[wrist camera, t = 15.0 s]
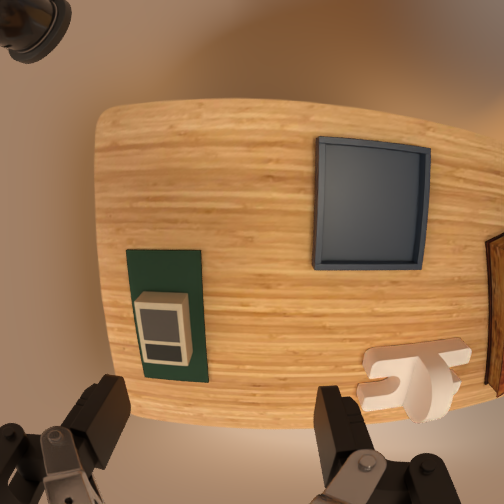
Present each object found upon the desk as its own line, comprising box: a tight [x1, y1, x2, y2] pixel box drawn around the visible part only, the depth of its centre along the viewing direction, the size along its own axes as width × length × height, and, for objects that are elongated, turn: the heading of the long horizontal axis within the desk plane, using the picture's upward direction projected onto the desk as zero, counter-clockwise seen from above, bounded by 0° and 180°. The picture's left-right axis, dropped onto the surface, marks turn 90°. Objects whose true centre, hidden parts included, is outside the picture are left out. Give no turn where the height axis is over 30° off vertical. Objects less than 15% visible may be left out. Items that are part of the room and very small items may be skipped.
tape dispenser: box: [357, 338, 472, 423], centre depth 38 cm, size 10×18×11 cm, turn 90°
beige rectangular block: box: [134, 291, 193, 366], centre depth 40 cm, size 9×6×4 cm
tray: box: [312, 136, 431, 270], centre depth 36 cm, size 16×15×2 cm
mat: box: [126, 250, 209, 383], centre depth 42 cm, size 20×10×1 cm, turn 0°
